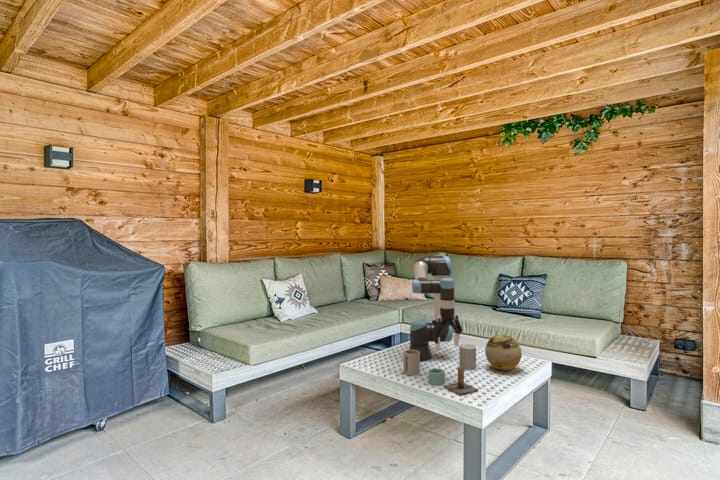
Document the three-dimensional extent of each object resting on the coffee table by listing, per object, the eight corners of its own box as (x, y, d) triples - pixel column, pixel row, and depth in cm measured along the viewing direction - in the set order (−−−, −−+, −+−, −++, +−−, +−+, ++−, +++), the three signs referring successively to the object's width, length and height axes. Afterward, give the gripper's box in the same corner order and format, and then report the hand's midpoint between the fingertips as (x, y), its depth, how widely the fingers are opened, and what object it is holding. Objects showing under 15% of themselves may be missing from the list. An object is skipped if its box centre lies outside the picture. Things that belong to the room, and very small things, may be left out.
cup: (421, 371, 238) (421, 350, 237) (418, 376, 229) (418, 355, 229) (405, 369, 240) (405, 349, 240) (402, 374, 232) (401, 353, 232)
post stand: (443, 387, 213) (443, 366, 212) (461, 383, 219) (461, 362, 218) (460, 396, 202) (460, 373, 202) (478, 391, 208) (478, 369, 208)
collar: (425, 381, 222) (425, 370, 222) (437, 378, 226) (437, 367, 226) (435, 386, 215) (435, 374, 215) (447, 383, 219) (447, 371, 219)
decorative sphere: (482, 363, 251) (482, 330, 250) (516, 364, 249) (516, 331, 248) (489, 374, 231) (489, 339, 230) (525, 376, 229) (526, 340, 228)
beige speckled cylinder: (476, 370, 238) (476, 349, 238) (459, 369, 240) (459, 348, 240) (475, 365, 247) (475, 344, 247) (459, 364, 249) (459, 343, 249)
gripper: (434, 311, 211) (434, 352, 211) (469, 306, 224) (469, 345, 224) (424, 308, 217) (424, 349, 218) (459, 304, 230) (459, 342, 231)
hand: (447, 347), depth 221 cm, fingers open, 13 cm apart
